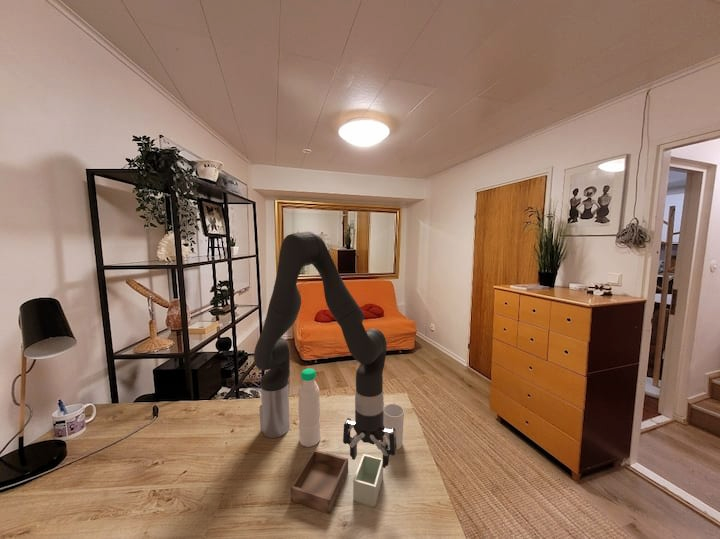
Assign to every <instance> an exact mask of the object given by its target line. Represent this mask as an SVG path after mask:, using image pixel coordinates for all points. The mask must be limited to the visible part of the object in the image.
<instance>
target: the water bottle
mask: <svg viewBox="0 0 720 539" xmlns="http://www.w3.org/2000/svg"><path fill="white" fill-rule="evenodd" d="M316 376H317V372H316V370H315V369H314V368H305V369H303V370H302V371H301V372H300V378H301V381H302V382H301V383H300V386H299V388H298V392H297V395H298V420H299V424H298V429H299V430H298V431H299V435H298V436H299V438H298V439H299V443H300V444H301V446H303V447H306V448H311V447H314V446H316V445H317V444H318V443H319V442H320V440H321V419H320V415H321V408H320V407H321V403H320V388H319V385H318V384H317V382H316Z"/></svg>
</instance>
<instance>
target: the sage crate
mask: <svg viewBox="0 0 720 539" xmlns="http://www.w3.org/2000/svg"><path fill="white" fill-rule="evenodd" d="M383 479H384V468H383V458H381V457H376V456H373V455H370V454H365V453H363V454H362V456H361V459H360V461H359V465H358V466H357V469H356V472H355V474H354V478H353V480H352V481H353V482H352V483H353V485H352V486H353V490H352V491H353V492H352V496H353V499H352V501H353V502H357V503H360V504H362V505H366V506H368V507H371V508H376V507H377V502H378V499H379V494H380V492H381V488H382V483H383Z"/></svg>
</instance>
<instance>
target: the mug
mask: <svg viewBox="0 0 720 539" xmlns="http://www.w3.org/2000/svg"><path fill="white" fill-rule="evenodd" d="M404 417H405V410H404V408H403V407H402V406H401V405H400V404H397V403H395V402H392V403H389V404H386V405H384V423H383V424H384V427H385V429H389V430H391V428H395V430H396V451H397V450H399V449H401V447H403V446H402V445H403V439H404V437H403V436H404V419H405V418H404ZM384 437H385V439H386V442H387V444H388V445H389V446H390V440H388V438H387V436H386V435H385V434H384Z"/></svg>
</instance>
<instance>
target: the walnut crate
mask: <svg viewBox="0 0 720 539" xmlns="http://www.w3.org/2000/svg"><path fill="white" fill-rule="evenodd" d="M348 473H349V458H347V457H343V456H339V455H335V454H332V453H328V452H325V451H321V450H318V449H313V450H312V452H311V453H310V455H309V457H308V459H307V460H306V462H305V464H304V465H303V466H302V469H300V471H299V472H298V475H297V476H296V478H295V480H294V481H293V482H292V484H291V486H290V501H291V502H293V503H296V504H298V505H301V506H305V507H307V508H309V509H313V510H316V511H319V512H321V513H324V514H328V515H331V513H332V511H333V508H334V505H336V504H335V503H336V501H337V499H338V496H339V494H340V491H341V489H342V487H343V485H344V483H345V479H346V477H347V475H348Z"/></svg>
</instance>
